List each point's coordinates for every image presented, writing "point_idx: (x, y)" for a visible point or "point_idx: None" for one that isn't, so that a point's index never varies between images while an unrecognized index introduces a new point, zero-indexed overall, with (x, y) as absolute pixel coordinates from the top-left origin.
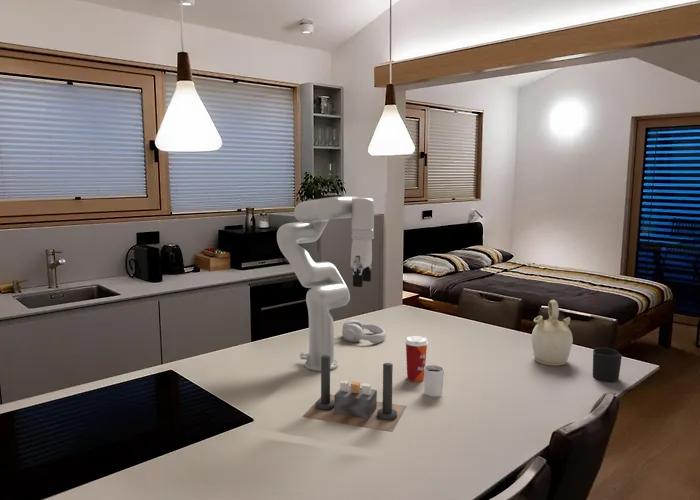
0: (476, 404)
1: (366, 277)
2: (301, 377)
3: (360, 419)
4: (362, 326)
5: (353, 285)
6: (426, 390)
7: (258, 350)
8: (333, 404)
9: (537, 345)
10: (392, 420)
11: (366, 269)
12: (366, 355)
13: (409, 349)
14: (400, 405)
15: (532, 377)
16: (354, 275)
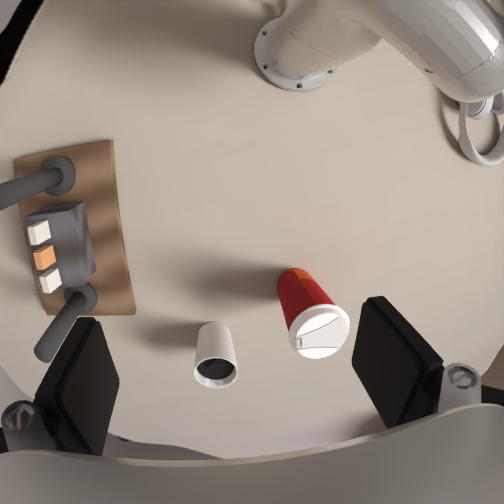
0: (216, 390)
1: (370, 358)
2: (204, 37)
3: None
4: (501, 113)
5: (80, 322)
6: (199, 337)
7: None
8: (55, 195)
9: None
10: None
11: (414, 412)
12: (398, 141)
13: (292, 315)
14: (130, 304)
15: (344, 417)
16: (46, 403)
